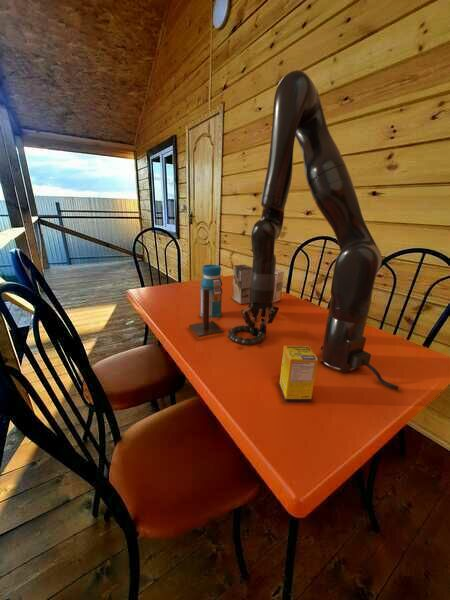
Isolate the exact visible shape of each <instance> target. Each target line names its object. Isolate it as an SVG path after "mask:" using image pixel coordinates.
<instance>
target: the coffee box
mask: <svg viewBox="0 0 450 600" xmlns="http://www.w3.org/2000/svg"><path fill="white" fill-rule="evenodd" d="M232 272H233V273H232V295H231V297H232V298H231V299H232V300H234V301H235V302H237V303H238V304H240V305H246V304H250V299H249V297H250V282H251V274H252V266H249V265H246V264H236V265H233V271H232Z"/></svg>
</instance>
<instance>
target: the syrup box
mask: <svg viewBox="0 0 450 600" xmlns="http://www.w3.org/2000/svg"><path fill="white" fill-rule="evenodd" d="M284 275H285V271H284V270H281V269H277V268H275V287H274V298H273V301H272V303H274V304H275V303H277V302H280V301H281V297H282V291H283V282H284Z"/></svg>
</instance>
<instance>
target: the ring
mask: <svg viewBox="0 0 450 600" xmlns="http://www.w3.org/2000/svg"><path fill="white" fill-rule="evenodd" d="M257 328H258V333H257V336H254V337H251V338H247V337H241V336H239V335H237V334H238V333H244V332H245V333H251V327H250V326H248V325H238V326H237V325H236V326H233V327H232V328H230V329H229V330H228V332H227V333H228V334H227V338H228V339H229V340H230V341H231V342H232V343H233V344H234V343H235V344H237V345H240V346H249V347H251V346H256V345H261V344H262V343H264V342H265V340H266V334H265V335H264V332H263V331H262V330H260V327H257Z"/></svg>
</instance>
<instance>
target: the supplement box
mask: <svg viewBox="0 0 450 600" xmlns="http://www.w3.org/2000/svg"><path fill="white" fill-rule="evenodd" d="M318 361H319V359H318V357H317V355H316V354H315V353H314V351H313V350H312V349H311V347H310V346H309V345H283V351H282V359H281V366H280V375H279V385H278V387H279V388H280V391H281V394H282V396H283V399H284V402H312V397H313V391H314V386H315V379H316V373H317V367H318V363H319V362H318Z"/></svg>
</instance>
